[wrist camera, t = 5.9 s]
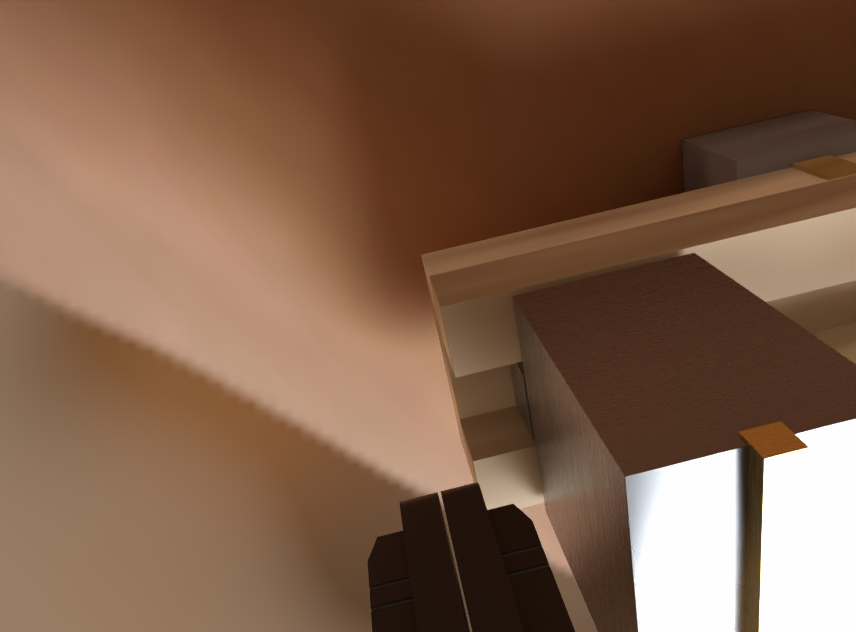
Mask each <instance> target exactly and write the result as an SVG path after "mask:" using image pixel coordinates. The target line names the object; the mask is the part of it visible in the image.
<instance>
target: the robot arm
mask: <svg viewBox="0 0 856 632" xmlns="http://www.w3.org/2000/svg"><path fill="white" fill-rule="evenodd" d="M441 494H442V499H443V503H444V508H445V512H446V517H447V521H448V525H449V530H450V534H451V539H452V543H453V548H454V552H455V556H456V561H457V565H458V570H459V574H460V578H461V583H462V587H463V592H464V596H465V601H466V605H467V610H468V614H469V618H470V623H471V627H472V631H473V632H575V630H574V628H573V625H572V622H571V620H570V617H569V615H568V612H567V610H566V607H565V604H564V602H563V599H562V597H561V594H560V592H559V589H558V587H557V584H556V581H555V579H554V576H553V573H552V571H551V568H550V567H549V563H548V560H547V558H546V555H545V553H544V550H543V548H542V546H541V542H540V540H539V537H538V535H537V532H536V529H535V527H534V524H533V522H532V520H531V519H530V518H529V517H527V516H526V515H525V514H524V513H523V512H522V511H521V510H520V509H519V508H518V507H517V506H515V505H514V504H510V505H505V506H501V507H497V508H493V509H489V510H487V508H486V505H485V501H484V498H483V495H482V492H481V488H480V485H479V483H478V482H477V483H473V484H469V485H465V486H461V487H457V488H453V489H448V490H444V491H441ZM400 509H401V517H402V524H403V531H400V532H396V533H392V534H388V535H384V536H380V537H377V539H376V542H375V545H374V547H373V549H372V552H371V554H370V557H369V559H368V573H369V587H370V602H371V610H372V612H371V617H372V630H373V632H470V630H469V625H468V621H467V616H466V612H465V608H464V603H463V598H462V594H461V589H460V585H459V580H458V576H457V572H456V567H455V564H454V559H453V555H452V550H451V546H450V542H449V538H448V534H447V530H446V525H445V521H444V517H443V513H442V509H441V505H440V500H439V496H438V493H433V494H429V495H425V496H420V497H416V498H412V499H408V500H404V501H401V502H400Z"/></svg>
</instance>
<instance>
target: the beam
mask: <svg viewBox="0 0 856 632" xmlns="http://www.w3.org/2000/svg"><path fill="white" fill-rule="evenodd" d="M683 174H684V193H680V194H676V195H672V196H668V197H663V198H659V199H655V200H651V201H646V202H642V203H638V204H634V205H629V206H625V207H621V208H617V209H613V210H608V211H604V212H600V213H596V214H591V215H587V216H583V217H579V218H574V219H570V220H566V221H562V222H558V223H553V224H549V225H545V226H541V227H536V228H532V229H528V230H524V231H519V232H515V233H511V234H507V235H503V236H498V237H494V238H490V239H486V240H481V241H477V242H473V243H469V244H464V245H460V246H456V247H452V248H447V249H443V250H439V251H435V252H431V253H426V254H422V255H421V256H422V261H423V265H424V270H425V275H426V279H427V284H428V289H429V293H430V298H431V302H432V307H433V312H434V316H435V321H436V326H437V330H438V335H439V340H440V344H441V349H442V353H443V358H444V363H445V367H446V372H447V377H448V381H449V386H450V391H451V395H452V400H453V404H454V409H455V414H456V418H457V423H458V428H459V432H460V437H461V441H462V445H463V448H464V451H465V454H466V458H467V461H468V464H469V467H470V471H471V474H472V477H473V480H474V483H477V482H478V483H479V485H480V488H481V492H482V495H483V498H484V501H485V505H486V508H487V510H489V509H493V508H497V507H501V506H505V505H510V504H514V505H515V506H517V507H518V508H519V509H520V508H524V507H528V506H531V505H535V504H539V503H543V502H544V497H543V490H542V484H541V477H540V471H539V465H538V458H537V452H536V445H535V439H533V438H532V436H531V434H530V432H529V429H528V427H527V425H526V423H525V421H524V419H523V417H522V415H521V412H520V410H519V408H518V406H517V404H516V400H515V394H514V388H513V382H512V376H511V370H510V364H514V363H518V362H522V356H521V349H520V343H519V336H518V330H517V324H516V317H515V311H514V304H513V298H512V296H516V295H520V294H524V293H529V292H533V291H537V290H541V289H545V288H549V287H554V286H558V285H562V284H566V283H570V282H574V281H579V280H583V279H587V278H591V277H595V276H599V275H604V274H608V273H612V272H616V271H620V270H624V269H629V268H633V267H637V266H641V265H645V264H649V263H654V262H658V261H662V260H666V259H670V258H674V257H679V256H683V255H687V254H691V253H695V254H697V255H698V256H700V257H701V258H703V259H704V260H706V261H707V262H709V263H710V264H711V265H713V266H714V267H716V268H717V269H719V270H720V271H722V272H723V273H724V274H726V275H727V276H729V277H730V278H732V279H733V280H735V281H736V282H737V283H739V284H740V285H742V286H743V287H745V288H746V289H748V290H749V291H750V292H752V293H753V294H755V295H756V296H758V297H759V298H761V299H762V300H763V301H765V302H766V303H768V304H769V305H771V306H772V307H774V308H775V309H776V310H778V311H779V312H781V313H782V314H784V315H785V316H787V317H788V318H790V319H791V320H792V321H794V322H795V323H797V324H798V325H800V326H801V327H803V328H804V329H805V330H807V331H808V332H810V333H811V334H813V335H814V336H816V337H817V338H818V339H820V340H821V341H823V342H824V343H826V344H827V345H829V346H830V347H831V348H833V349H834V350H836V351H837V352H839V353H840V354H842V355H843V356H844V357H846V358H847V359H849V360H850V361H852V362H853V363H855V364H856V120H852V119H847V118H843V117H839V116H834V115H830V114H826V113H822V112H817V111H813V110H807V111H803V112H799V113H795V114H790V115H786V116H782V117H777V118H773V119H769V120H764V121H760V122H756V123H752V124H747V125H743V126H739V127H734V128H730V129H726V130H722V131H717V132H713V133H709V134H704V135H700V136H696V137H692V138H687V139H683Z"/></svg>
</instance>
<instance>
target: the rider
mask: <svg viewBox="0 0 856 632" xmlns="http://www.w3.org/2000/svg"><path fill="white" fill-rule="evenodd" d="M512 298H513V304H514V311H515V317H516V324H517V330H518V336H519V343H520V349H521V356H522V362H518V363H514V364H510V370H511V376H512V382H513V388H514V394H515V400H516V404H517V406H518V408H519V410H520V412H521V415H522V417H523V419H524V421H525V423H526V425H527V427H528V429H529V432H530V434H531V436H532V438H533V439H535V445H536V452H537V458H538V465H539V471H540V477H541V484H542V490H543V497H544V503H545V509H546V513H547V515H548V517H549V520H550V522H551V524H552V527H553V529H554V531H555V534H556V536H557V538H558V541H559V543H560V545H561V548H562V550H563V552H564V555H565V557H566V559H567V561H568V564H569V566H570V568H571V571H572V573H573V575H574V578H575V580H576V582H577V585H578V587H579V589H580V592H581V594H582V596H583V599H584V601H585V603H586V605H587V608H588V610H589V613H590V615H591V617H592V619H593V622H594V624H595V627H596V629H597V631H598V632H856V364H855V363H853V362H852V361H850V360H849V359H847V358H846V357H844V356H843V355H842V354H840V353H839V352H837V351H836V350H834V349H833V348H831V347H830V346H829V345H827V344H826V343H824V342H823V341H821V340H820V339H818V338H817V337H816V336H814V335H813V334H811V333H810V332H808V331H807V330H805V329H804V328H803V327H801V326H800V325H798V324H797V323H795V322H794V321H792V320H791V319H790V318H788V317H787V316H785V315H784V314H782V313H781V312H779V311H778V310H776V309H775V308H774V307H772V306H771V305H769V304H768V303H766V302H765V301H763V300H762V299H761V298H759V297H758V296H756V295H755V294H753V293H752V292H750V291H749V290H748V289H746V288H745V287H743V286H742V285H740V284H739V283H737V282H736V281H735V280H733V279H732V278H730V277H729V276H727V275H726V274H724V273H723V272H722V271H720V270H719V269H717V268H716V267H714V266H713V265H711V264H710V263H709V262H707V261H706V260H704V259H703V258H701V257H700V256H698V255H697V254H695V253H691V254H687V255H683V256H679V257H674V258H670V259H666V260H662V261H658V262H654V263H649V264H645V265H641V266H637V267H633V268H629V269H624V270H620V271H616V272H612V273H608V274H604V275H599V276H595V277H591V278H587V279H583V280H579V281H574V282H570V283H566V284H562V285H558V286H554V287H549V288H545V289H541V290H537V291H533V292H529V293H524V294H520V295H516V296H512Z"/></svg>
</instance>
